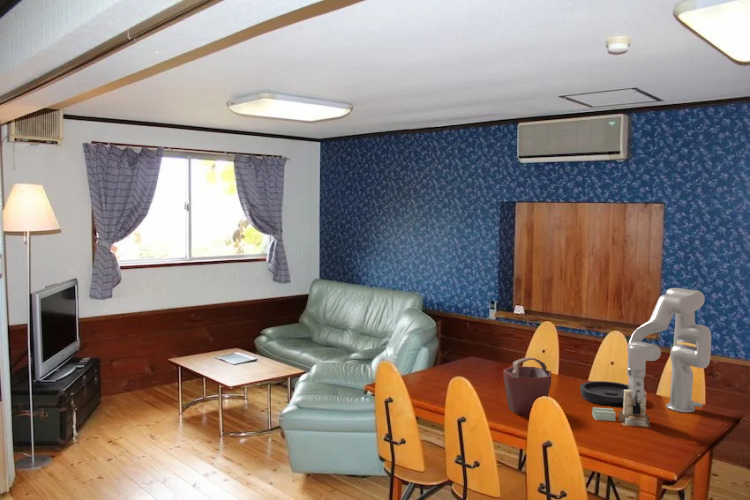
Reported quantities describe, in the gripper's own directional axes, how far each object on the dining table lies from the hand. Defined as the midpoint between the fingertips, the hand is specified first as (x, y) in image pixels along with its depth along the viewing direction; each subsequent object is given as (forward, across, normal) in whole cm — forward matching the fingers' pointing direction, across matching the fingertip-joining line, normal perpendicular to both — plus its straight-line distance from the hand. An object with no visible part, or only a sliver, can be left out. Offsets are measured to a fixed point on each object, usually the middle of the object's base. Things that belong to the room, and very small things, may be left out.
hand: (634, 410), depth 283 cm
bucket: (+6, +8, +47) cm, 48 cm away
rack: (+6, -2, 0) cm, 6 cm away
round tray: (+6, +36, +3) cm, 37 cm away
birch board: (+5, 0, 0) cm, 5 cm away
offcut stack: (+5, -5, 0) cm, 7 cm away
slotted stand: (+6, +2, +12) cm, 14 cm away
